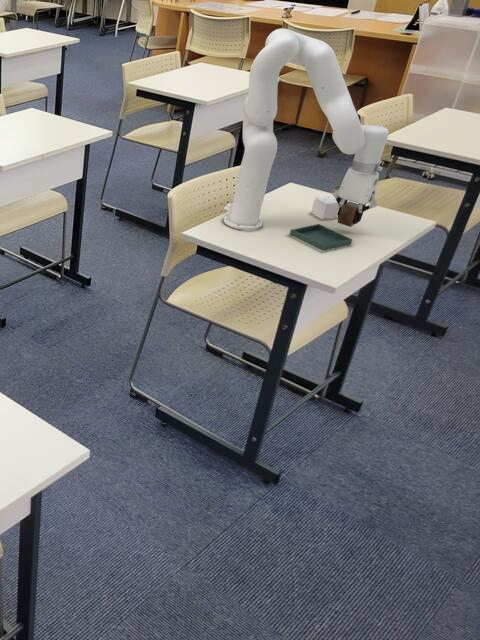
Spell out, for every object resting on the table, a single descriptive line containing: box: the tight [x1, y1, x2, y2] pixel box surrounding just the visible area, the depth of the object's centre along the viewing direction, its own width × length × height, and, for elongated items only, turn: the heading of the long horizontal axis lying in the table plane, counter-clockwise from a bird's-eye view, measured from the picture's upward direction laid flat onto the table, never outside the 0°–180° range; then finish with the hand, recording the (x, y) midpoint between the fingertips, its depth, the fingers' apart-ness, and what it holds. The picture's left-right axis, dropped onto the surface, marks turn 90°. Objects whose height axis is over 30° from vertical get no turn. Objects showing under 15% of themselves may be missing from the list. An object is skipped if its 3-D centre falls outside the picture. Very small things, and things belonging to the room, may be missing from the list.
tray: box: [289, 223, 353, 252], centre depth 227 cm, size 14×13×2 cm
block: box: [336, 200, 359, 228], centre depth 230 cm, size 5×5×6 cm
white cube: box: [310, 195, 339, 220], centre depth 245 cm, size 6×6×6 cm
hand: (347, 220), depth 231 cm, fingers closed on block, 4 cm apart
